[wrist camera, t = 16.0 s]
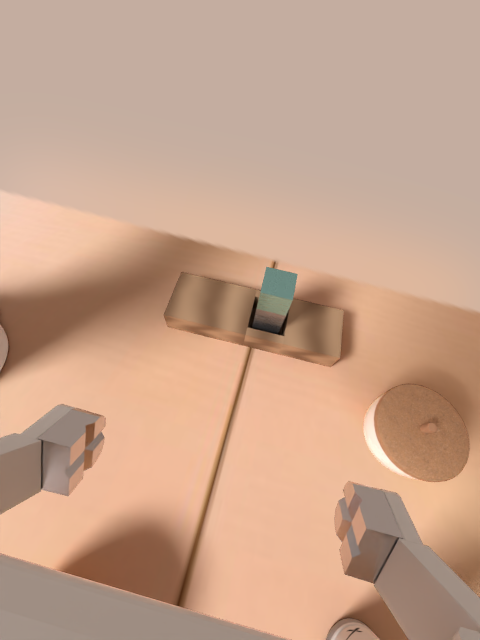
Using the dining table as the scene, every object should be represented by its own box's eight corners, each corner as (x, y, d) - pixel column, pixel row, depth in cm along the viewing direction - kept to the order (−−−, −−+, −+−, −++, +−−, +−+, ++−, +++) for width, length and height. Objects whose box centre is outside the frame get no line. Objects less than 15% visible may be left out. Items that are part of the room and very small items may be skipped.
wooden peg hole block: (167, 326, 46) (163, 314, 42) (184, 286, 50) (181, 271, 46) (330, 367, 45) (340, 358, 41) (334, 322, 48) (343, 310, 45)
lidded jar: (387, 497, 37) (436, 505, 29) (335, 421, 41) (365, 408, 33) (443, 451, 40) (502, 446, 32) (389, 384, 44) (429, 364, 36)
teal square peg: (250, 333, 46) (260, 292, 35) (255, 312, 48) (266, 266, 37) (275, 339, 46) (292, 300, 35) (279, 318, 48) (297, 274, 37)
